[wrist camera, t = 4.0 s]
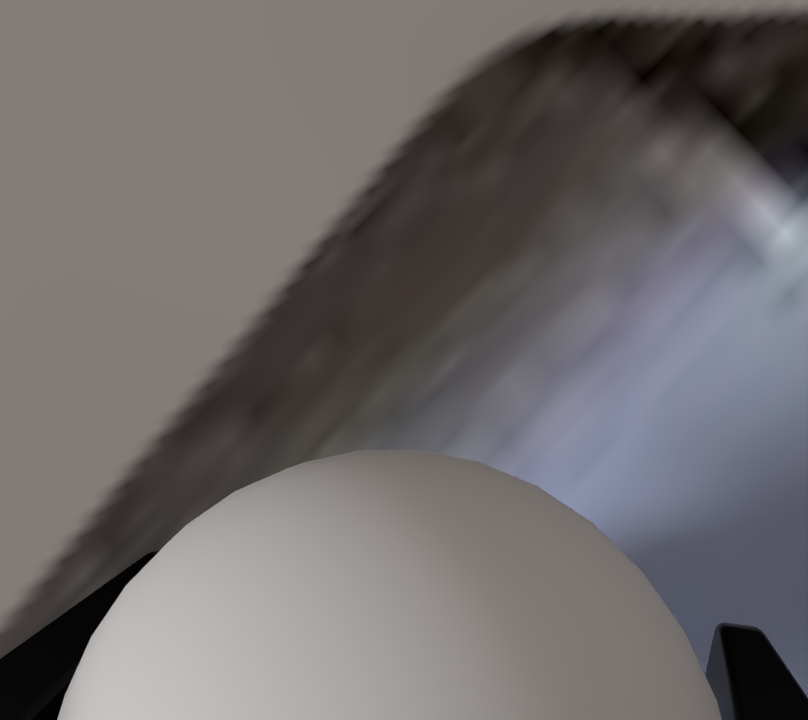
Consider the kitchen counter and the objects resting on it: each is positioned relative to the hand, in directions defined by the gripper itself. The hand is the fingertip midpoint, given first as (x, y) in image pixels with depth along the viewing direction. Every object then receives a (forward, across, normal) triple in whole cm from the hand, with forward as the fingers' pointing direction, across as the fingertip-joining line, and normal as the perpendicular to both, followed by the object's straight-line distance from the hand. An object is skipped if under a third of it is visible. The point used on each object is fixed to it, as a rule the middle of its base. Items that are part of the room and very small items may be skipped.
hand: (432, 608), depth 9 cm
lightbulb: (+4, 0, +6) cm, 7 cm away
